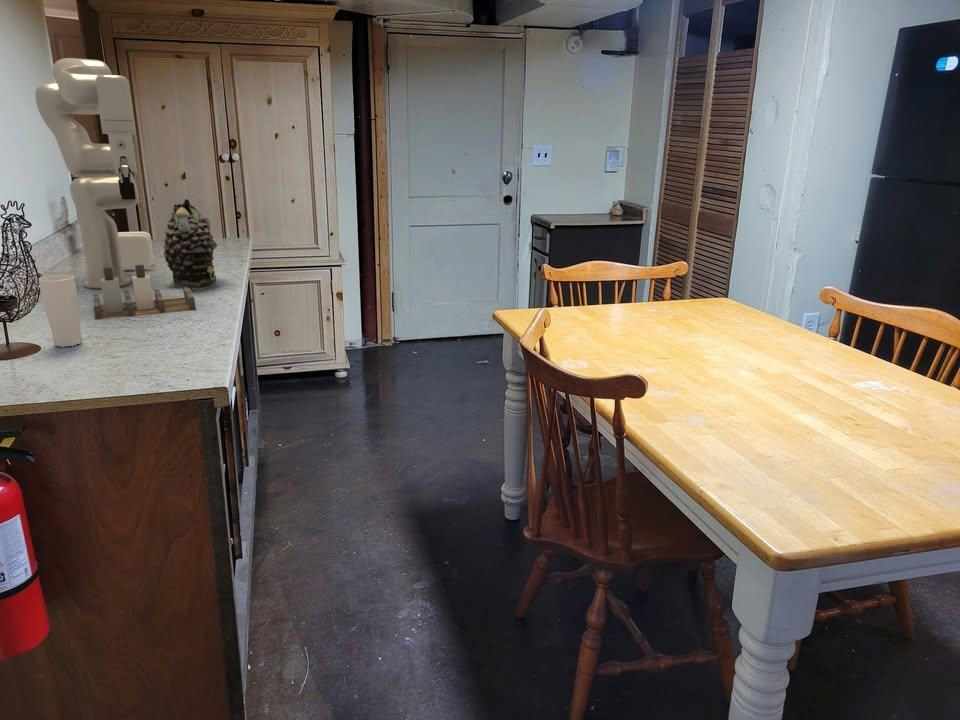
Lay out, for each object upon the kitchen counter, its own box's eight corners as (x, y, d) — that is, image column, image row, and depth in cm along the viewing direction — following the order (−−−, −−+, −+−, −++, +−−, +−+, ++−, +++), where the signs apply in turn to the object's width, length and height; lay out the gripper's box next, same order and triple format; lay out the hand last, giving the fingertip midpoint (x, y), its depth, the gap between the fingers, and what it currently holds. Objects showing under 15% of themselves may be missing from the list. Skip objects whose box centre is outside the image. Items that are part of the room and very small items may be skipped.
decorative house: (223, 290, 206) (214, 204, 198) (167, 293, 200) (156, 205, 192) (219, 276, 224) (210, 196, 216) (168, 279, 218) (157, 197, 210)
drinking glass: (61, 351, 150) (48, 282, 145) (44, 345, 153) (31, 278, 148) (92, 343, 155) (81, 277, 150) (75, 338, 159) (63, 273, 154)
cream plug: (153, 304, 183) (147, 263, 180) (154, 308, 180) (148, 266, 176) (136, 306, 182) (130, 264, 178) (137, 310, 178) (131, 267, 175)
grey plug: (105, 309, 178) (98, 266, 175) (122, 307, 180) (116, 265, 176) (105, 313, 175) (98, 269, 171) (123, 311, 177) (116, 268, 173)
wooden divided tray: (95, 309, 182) (92, 294, 181) (189, 301, 192) (187, 286, 191) (96, 324, 170) (93, 307, 168) (196, 314, 180) (194, 298, 179)
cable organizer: (101, 272, 226) (96, 236, 222) (106, 266, 236) (101, 232, 232) (152, 270, 231) (147, 235, 227) (155, 264, 240) (150, 230, 236)
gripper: (136, 128, 170) (146, 200, 176) (133, 127, 184) (141, 193, 190) (102, 128, 167) (112, 201, 172) (101, 127, 181) (110, 194, 187)
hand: (128, 197), depth 181 cm, fingers open, 9 cm apart
